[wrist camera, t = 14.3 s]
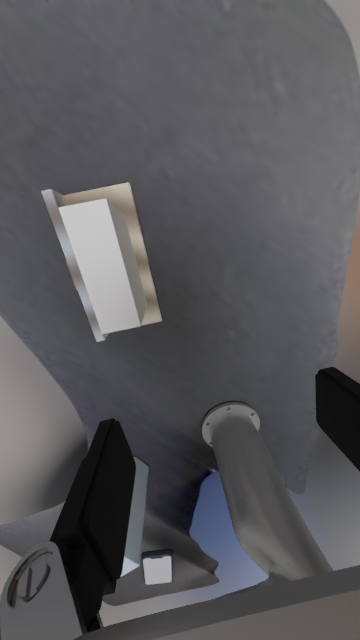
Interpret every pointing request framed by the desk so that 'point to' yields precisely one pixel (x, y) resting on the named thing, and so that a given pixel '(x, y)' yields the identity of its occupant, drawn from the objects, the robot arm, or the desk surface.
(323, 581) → the robot arm
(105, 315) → the carton
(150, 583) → the phone case
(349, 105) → the desk surface
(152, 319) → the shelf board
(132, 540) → the skincare box
